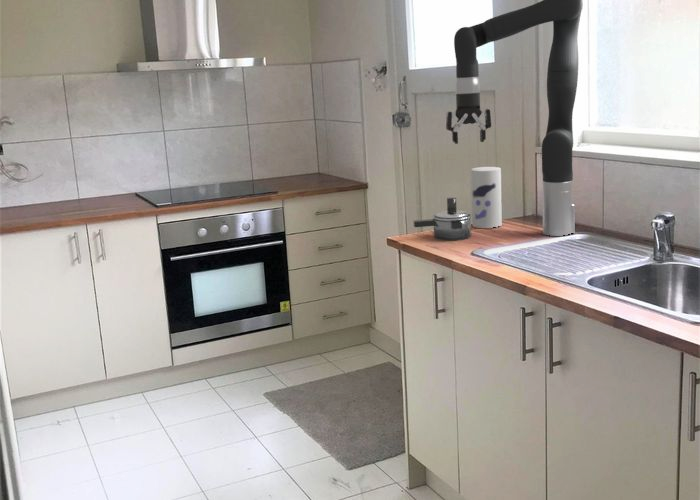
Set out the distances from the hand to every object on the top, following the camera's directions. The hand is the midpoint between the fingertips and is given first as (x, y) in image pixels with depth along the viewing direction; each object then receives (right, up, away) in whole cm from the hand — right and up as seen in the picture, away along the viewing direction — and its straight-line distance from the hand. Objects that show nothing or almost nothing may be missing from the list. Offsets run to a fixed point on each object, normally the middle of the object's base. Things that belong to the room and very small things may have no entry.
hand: (469, 142), depth 253 cm
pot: (-8, -31, +2) cm, 32 cm away
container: (+9, -27, +17) cm, 33 cm away
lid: (-5, -24, +2) cm, 24 cm away
